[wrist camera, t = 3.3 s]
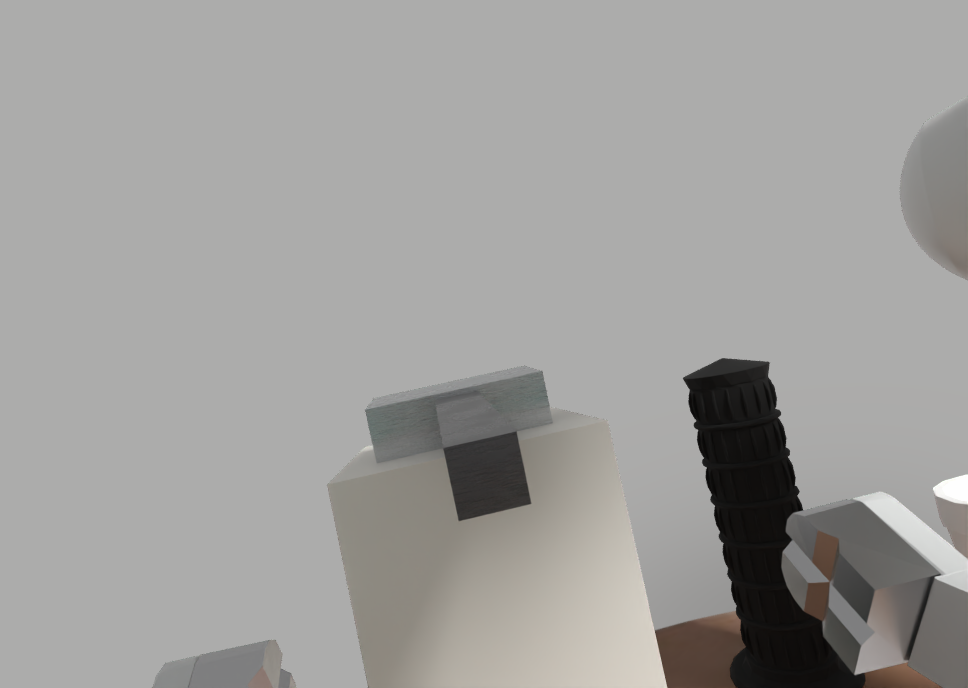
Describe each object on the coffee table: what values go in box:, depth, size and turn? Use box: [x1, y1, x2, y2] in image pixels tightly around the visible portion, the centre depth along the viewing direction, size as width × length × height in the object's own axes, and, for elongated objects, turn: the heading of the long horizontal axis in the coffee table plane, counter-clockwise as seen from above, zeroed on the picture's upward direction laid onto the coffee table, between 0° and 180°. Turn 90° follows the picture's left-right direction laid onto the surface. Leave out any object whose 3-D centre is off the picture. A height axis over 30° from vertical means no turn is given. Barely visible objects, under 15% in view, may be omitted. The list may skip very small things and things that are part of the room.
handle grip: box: [683, 358, 865, 688], centre depth 50 cm, size 10×26×10 cm
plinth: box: [327, 407, 667, 688], centre depth 37 cm, size 14×16×26 cm
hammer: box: [365, 366, 553, 521], centre depth 29 cm, size 10×20×3 cm, turn 5°
